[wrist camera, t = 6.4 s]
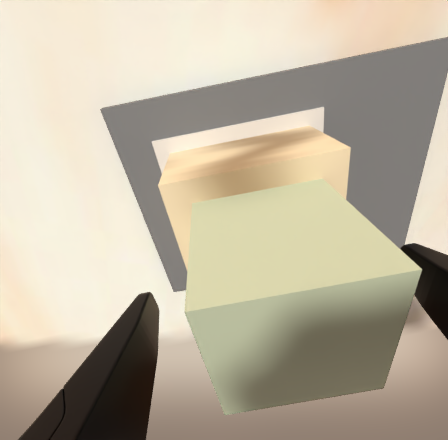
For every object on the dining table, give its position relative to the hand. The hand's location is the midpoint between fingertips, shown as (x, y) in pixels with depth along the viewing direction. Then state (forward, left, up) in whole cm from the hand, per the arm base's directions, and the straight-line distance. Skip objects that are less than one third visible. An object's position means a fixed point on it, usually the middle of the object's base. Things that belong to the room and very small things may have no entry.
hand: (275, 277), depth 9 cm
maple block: (0, 0, -6) cm, 6 cm away
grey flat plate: (-2, 0, -7) cm, 7 cm away
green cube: (0, 0, -2) cm, 2 cm away
